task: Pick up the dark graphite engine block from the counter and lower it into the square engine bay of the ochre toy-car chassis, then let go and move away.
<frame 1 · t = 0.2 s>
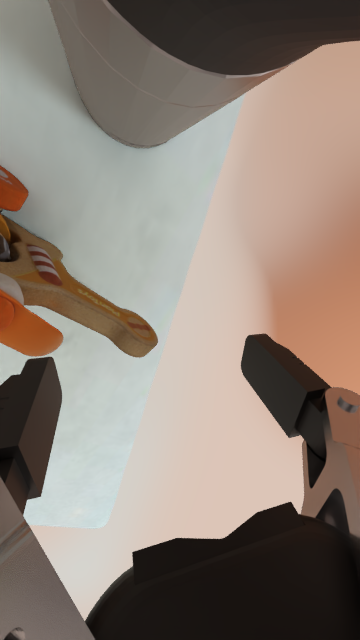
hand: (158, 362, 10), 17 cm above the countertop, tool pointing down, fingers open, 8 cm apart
toy helicopter: (52, 255, 23), on the countertop
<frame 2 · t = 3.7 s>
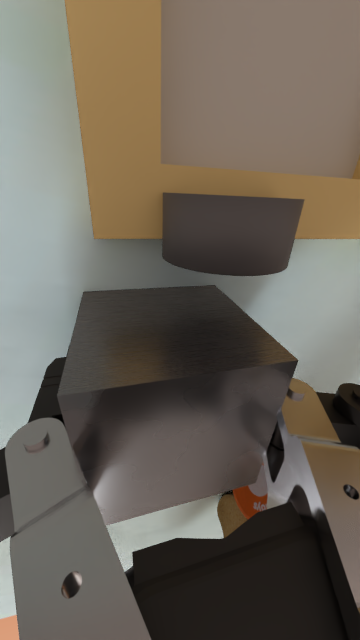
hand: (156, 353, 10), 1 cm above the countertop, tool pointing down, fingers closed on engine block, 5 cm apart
engine block: (154, 343, 11), on the countertop, touching gripper
toy helicopter: (222, 496, 21), on the countertop
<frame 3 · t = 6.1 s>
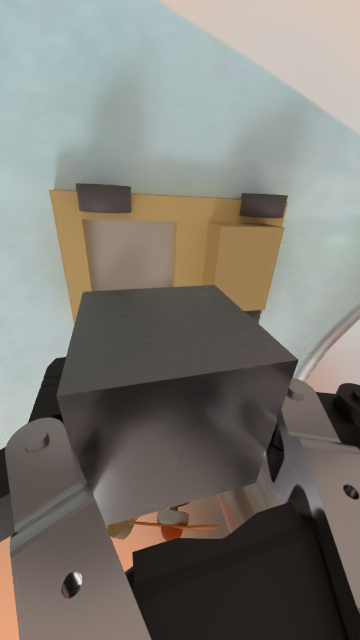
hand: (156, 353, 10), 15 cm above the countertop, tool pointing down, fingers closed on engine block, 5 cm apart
engine block: (153, 343, 11), point 14 cm above the countertop, touching gripper
toy helicopter: (153, 439, 37), on the countertop
chassis: (181, 261, 25), on the countertop
when the fingers open (3 cm above the countertop, at t = 8.4 s): engine block drops 2 cm, resting on chassis.
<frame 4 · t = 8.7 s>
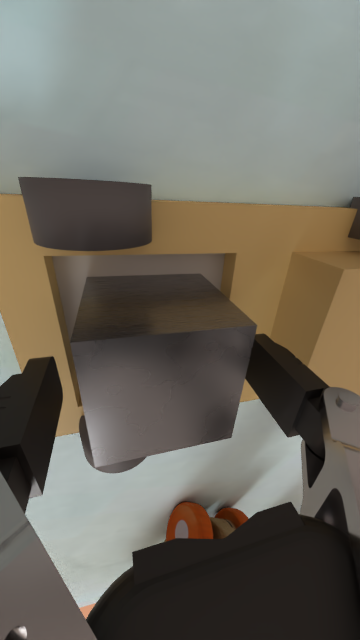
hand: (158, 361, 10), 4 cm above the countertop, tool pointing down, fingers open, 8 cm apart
engine block: (147, 324, 13), resting on chassis
toy helicopter: (169, 535, 27), on the countertop
chassis: (230, 314, 14), on the countertop
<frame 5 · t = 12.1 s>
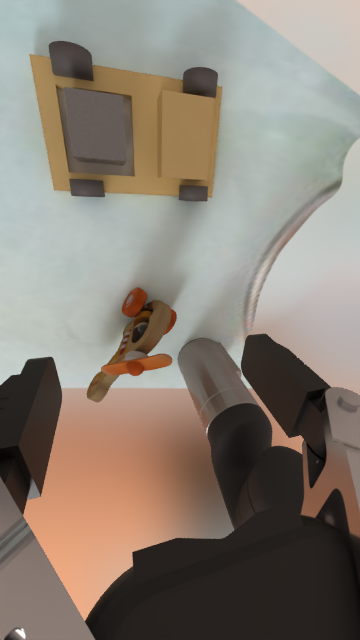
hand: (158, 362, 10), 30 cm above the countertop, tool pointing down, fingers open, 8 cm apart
engine block: (99, 137, 29), resting on chassis
toy helicopter: (128, 329, 43), on the countertop
chassis: (140, 141, 31), on the countertop
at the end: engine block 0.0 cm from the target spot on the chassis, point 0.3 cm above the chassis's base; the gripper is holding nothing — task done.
